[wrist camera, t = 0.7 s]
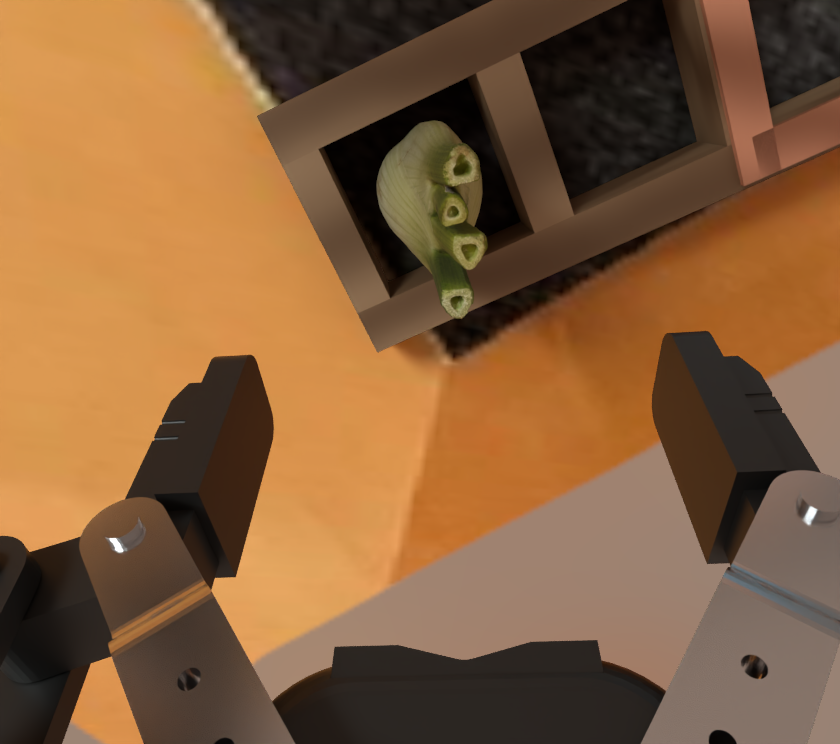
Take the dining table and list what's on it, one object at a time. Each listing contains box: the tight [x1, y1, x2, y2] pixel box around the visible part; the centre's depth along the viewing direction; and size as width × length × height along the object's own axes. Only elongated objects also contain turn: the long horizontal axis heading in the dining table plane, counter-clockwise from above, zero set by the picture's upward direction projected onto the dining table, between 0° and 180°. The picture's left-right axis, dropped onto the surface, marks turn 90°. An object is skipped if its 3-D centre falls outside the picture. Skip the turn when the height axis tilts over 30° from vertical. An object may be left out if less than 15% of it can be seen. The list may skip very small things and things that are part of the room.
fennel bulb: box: [377, 120, 488, 319], centre depth 27 cm, size 6×5×12 cm
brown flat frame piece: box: [257, 0, 840, 352], centre depth 30 cm, size 12×30×3 cm, turn 114°
